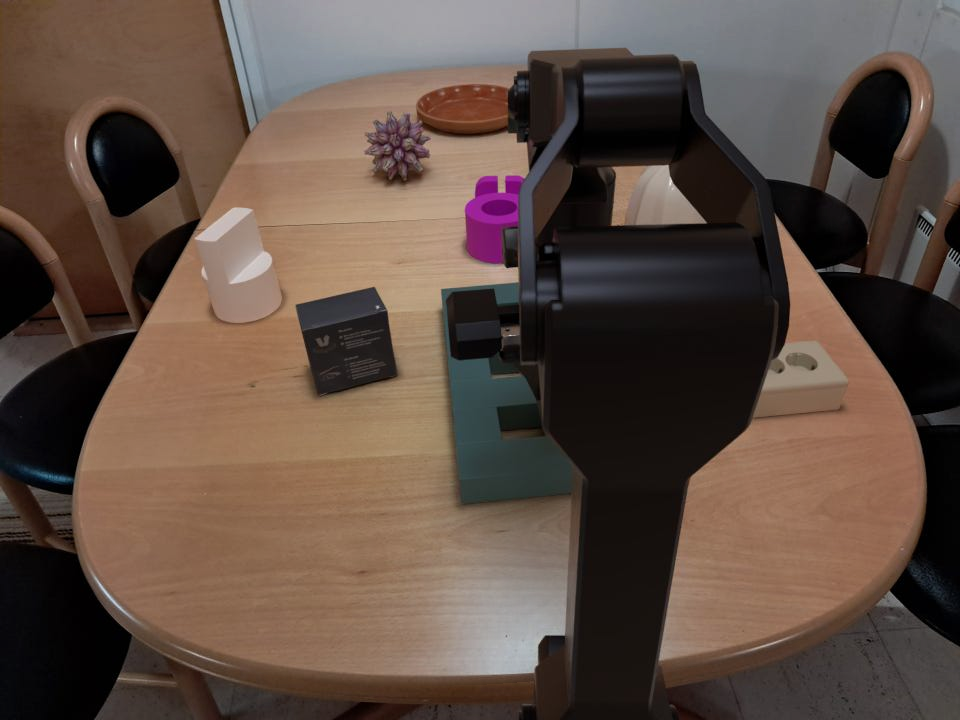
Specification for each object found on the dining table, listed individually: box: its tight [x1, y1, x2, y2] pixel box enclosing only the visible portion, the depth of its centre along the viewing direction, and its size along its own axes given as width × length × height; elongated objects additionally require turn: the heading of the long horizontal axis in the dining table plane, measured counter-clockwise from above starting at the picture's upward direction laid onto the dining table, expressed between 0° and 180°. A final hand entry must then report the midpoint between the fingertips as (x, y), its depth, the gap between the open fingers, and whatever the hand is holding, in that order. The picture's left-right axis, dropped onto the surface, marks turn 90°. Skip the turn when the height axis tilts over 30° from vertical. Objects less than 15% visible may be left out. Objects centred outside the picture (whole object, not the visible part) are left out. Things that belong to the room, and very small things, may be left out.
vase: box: [624, 165, 707, 225], centre depth 97 cm, size 14×14×13 cm
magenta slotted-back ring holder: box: [464, 174, 525, 264], centre depth 104 cm, size 16×10×6 cm, turn 177°
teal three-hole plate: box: [440, 281, 573, 505], centre depth 77 cm, size 32×14×4 cm, turn 5°
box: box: [295, 286, 398, 397], centre depth 78 cm, size 9×6×10 cm, turn 110°
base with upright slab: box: [194, 207, 283, 324], centre depth 90 cm, size 9×9×12 cm
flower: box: [363, 109, 432, 182], centre depth 121 cm, size 12×12×12 cm
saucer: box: [415, 83, 511, 135], centre depth 145 cm, size 23×23×4 cm
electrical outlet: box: [752, 340, 850, 419], centre depth 74 cm, size 7×4×18 cm
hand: (562, 394), depth 60 cm, fingers closed on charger, 4 cm apart
